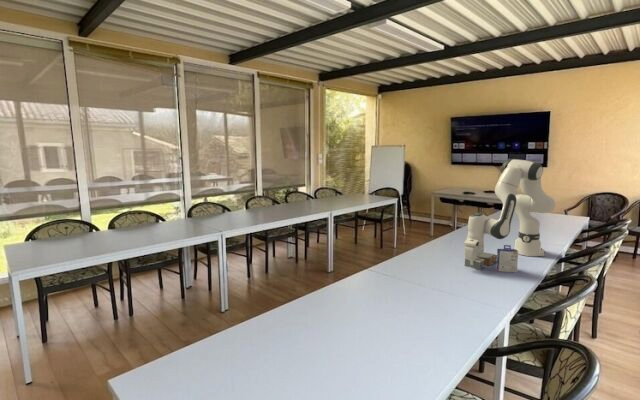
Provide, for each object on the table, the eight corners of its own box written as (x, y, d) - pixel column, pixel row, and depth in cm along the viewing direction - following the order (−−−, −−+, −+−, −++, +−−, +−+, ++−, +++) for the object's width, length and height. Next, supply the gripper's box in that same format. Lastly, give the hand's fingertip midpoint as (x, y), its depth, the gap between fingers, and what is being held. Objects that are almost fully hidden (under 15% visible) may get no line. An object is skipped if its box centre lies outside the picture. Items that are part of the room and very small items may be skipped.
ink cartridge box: (514, 269, 200) (516, 245, 198) (517, 272, 195) (519, 247, 193) (495, 268, 202) (497, 244, 200) (498, 271, 197) (500, 246, 195)
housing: (468, 263, 211) (468, 256, 210) (483, 267, 204) (484, 259, 203) (464, 265, 207) (465, 257, 207) (479, 269, 201) (480, 261, 200)
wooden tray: (476, 256, 225) (477, 250, 224) (496, 260, 216) (497, 254, 216) (468, 261, 215) (468, 255, 214) (488, 266, 206) (489, 259, 206)
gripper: (476, 236, 213) (475, 258, 215) (463, 242, 198) (461, 266, 200) (487, 238, 209) (486, 260, 211) (474, 244, 194) (473, 268, 196)
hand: (474, 263), depth 205 cm, fingers closed on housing, 5 cm apart
